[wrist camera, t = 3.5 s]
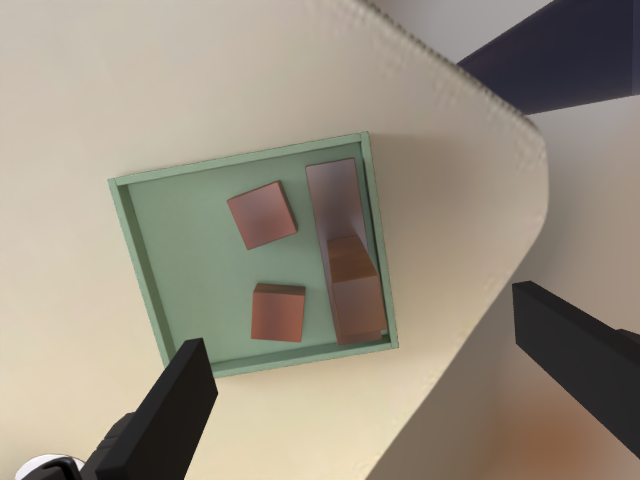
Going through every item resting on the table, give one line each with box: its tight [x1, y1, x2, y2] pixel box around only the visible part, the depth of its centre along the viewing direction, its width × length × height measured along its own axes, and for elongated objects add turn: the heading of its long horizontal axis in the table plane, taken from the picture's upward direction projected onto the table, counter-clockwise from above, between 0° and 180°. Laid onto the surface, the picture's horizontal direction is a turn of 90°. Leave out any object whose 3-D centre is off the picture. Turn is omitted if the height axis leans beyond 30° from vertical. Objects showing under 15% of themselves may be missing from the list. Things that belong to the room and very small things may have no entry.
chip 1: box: [227, 180, 298, 250], centre depth 28 cm, size 4×4×2 cm
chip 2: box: [251, 283, 306, 343], centre depth 30 cm, size 4×4×2 cm
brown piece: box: [305, 157, 387, 346], centre depth 24 cm, size 4×14×12 cm, turn 10°
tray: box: [107, 131, 399, 378], centre depth 29 cm, size 19×17×2 cm
